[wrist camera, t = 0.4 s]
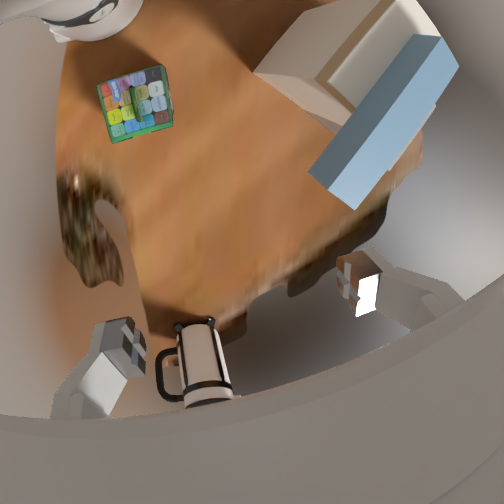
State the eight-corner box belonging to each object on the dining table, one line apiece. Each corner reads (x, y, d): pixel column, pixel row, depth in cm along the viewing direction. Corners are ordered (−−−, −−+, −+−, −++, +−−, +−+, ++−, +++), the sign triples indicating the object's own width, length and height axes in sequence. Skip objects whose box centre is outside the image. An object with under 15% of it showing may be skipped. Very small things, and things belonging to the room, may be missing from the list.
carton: (303, 110, 46) (397, 155, 26) (251, 72, 40) (326, 81, 20) (349, 51, 40) (459, 66, 20) (303, 10, 33) (406, -13, 13)
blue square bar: (334, 191, 27) (354, 210, 24) (307, 171, 25) (327, 189, 22) (431, 60, 19) (459, 66, 16) (413, 33, 17) (441, 36, 14)
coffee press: (191, 305, 69) (211, 415, 46) (232, 327, 79) (260, 422, 56) (152, 336, 73) (160, 436, 50) (193, 354, 83) (209, 442, 60)
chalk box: (112, 80, 34) (86, 84, 23) (166, 65, 35) (161, 61, 24) (123, 128, 40) (103, 153, 29) (174, 114, 41) (174, 133, 30)
